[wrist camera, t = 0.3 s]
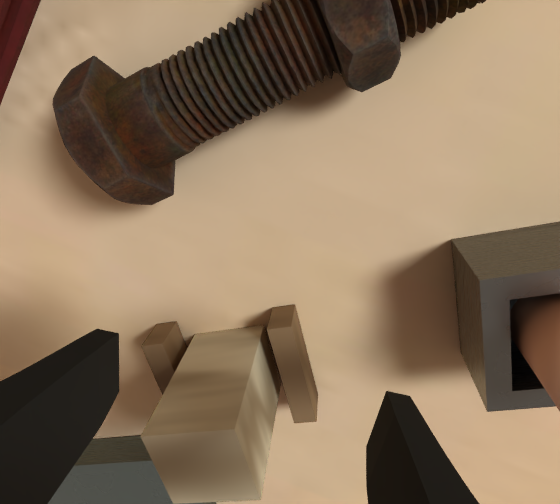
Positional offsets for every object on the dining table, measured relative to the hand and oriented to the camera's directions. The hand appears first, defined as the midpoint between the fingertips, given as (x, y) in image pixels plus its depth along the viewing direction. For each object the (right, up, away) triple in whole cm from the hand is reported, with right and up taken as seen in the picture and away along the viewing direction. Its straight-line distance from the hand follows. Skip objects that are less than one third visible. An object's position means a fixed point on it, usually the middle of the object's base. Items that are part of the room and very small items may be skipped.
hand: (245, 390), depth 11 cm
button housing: (+13, +2, +8) cm, 15 cm away
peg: (-1, -2, +12) cm, 12 cm away
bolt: (+1, +12, +6) cm, 13 cm away
